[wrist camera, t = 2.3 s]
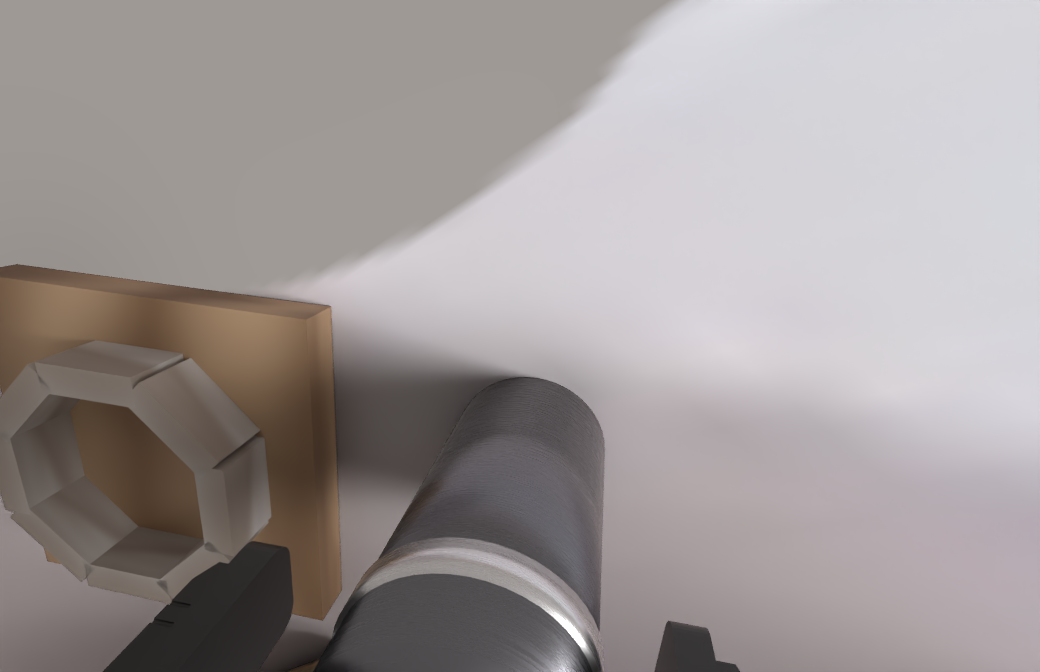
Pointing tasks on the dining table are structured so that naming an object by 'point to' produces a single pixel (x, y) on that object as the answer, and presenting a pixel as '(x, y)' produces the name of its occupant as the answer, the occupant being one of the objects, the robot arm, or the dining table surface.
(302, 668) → the vintage camera
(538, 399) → the lens
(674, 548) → the dining table surface
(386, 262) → the dining table surface
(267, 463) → the mount
